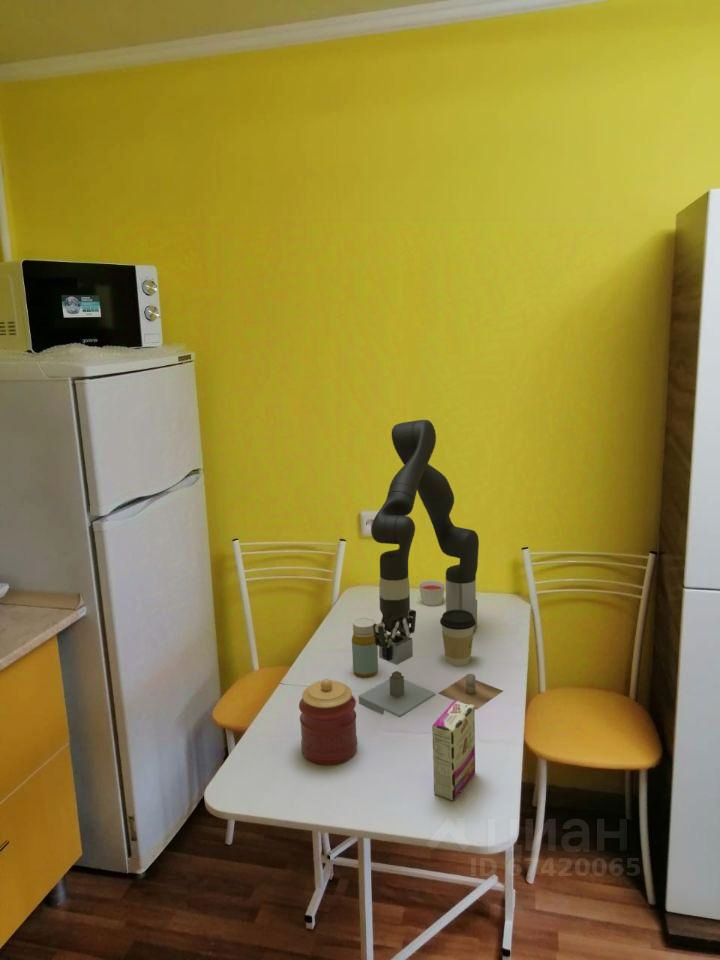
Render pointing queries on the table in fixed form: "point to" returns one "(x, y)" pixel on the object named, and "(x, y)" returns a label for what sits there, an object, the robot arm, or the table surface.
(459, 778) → the candy bar box
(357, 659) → the bottle
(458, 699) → the stand
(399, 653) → the recessed metal cube
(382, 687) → the square plate
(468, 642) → the coffee cup
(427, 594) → the candle
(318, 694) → the canister
